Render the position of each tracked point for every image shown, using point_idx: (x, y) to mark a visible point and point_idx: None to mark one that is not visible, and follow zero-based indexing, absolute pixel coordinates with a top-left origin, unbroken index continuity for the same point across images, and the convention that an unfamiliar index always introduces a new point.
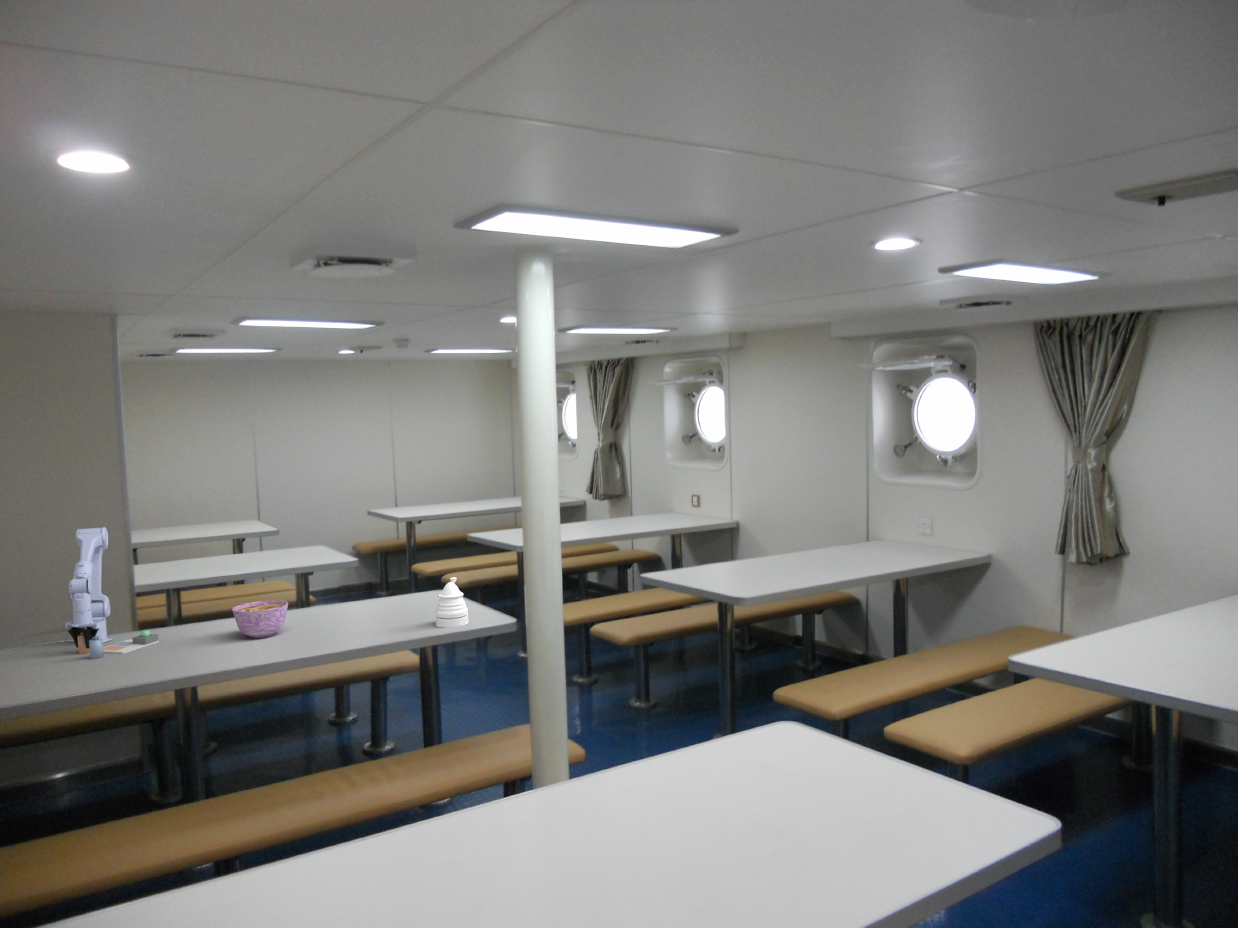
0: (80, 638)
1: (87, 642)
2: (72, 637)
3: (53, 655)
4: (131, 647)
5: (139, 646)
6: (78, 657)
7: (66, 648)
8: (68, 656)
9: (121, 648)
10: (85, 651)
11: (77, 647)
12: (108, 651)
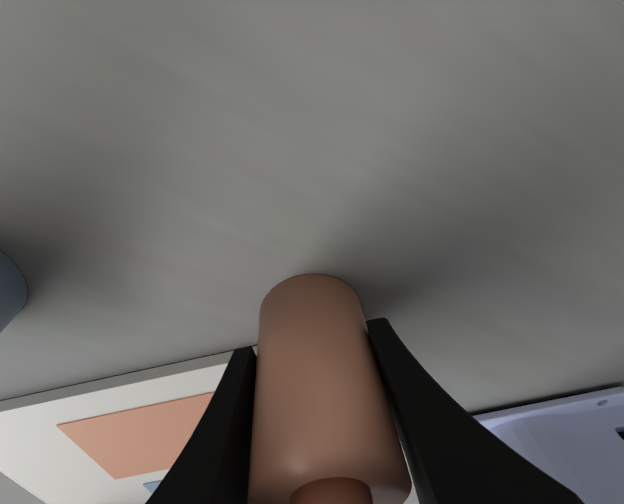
0: (288, 429)
1: (209, 405)
2: (454, 407)
3: (549, 131)
4: (67, 478)
5: (51, 500)
6: (153, 202)
7: (617, 312)
8: (318, 179)
9: (90, 450)
10: (263, 315)
11: (371, 321)
12: (87, 390)
